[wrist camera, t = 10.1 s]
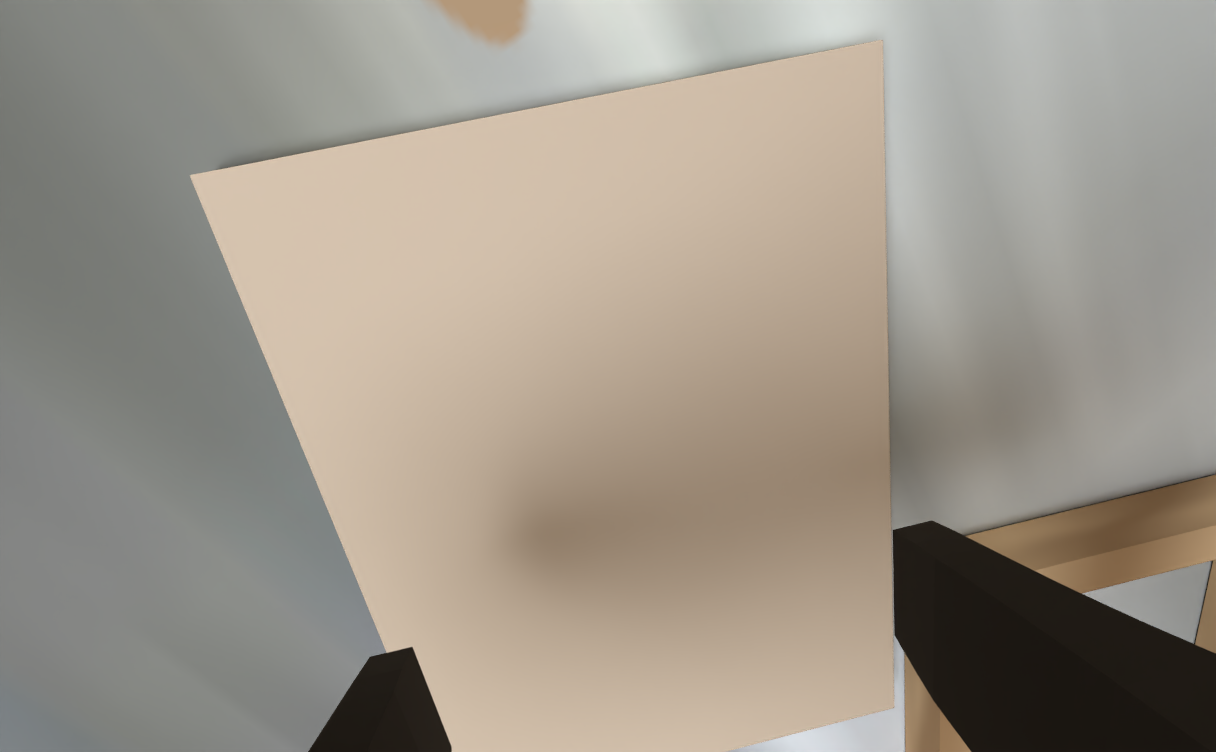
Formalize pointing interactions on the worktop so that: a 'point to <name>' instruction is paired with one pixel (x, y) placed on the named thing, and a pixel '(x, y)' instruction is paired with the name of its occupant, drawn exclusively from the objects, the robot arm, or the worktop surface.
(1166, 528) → the wooden square frame
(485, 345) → the beige mat
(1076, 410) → the worktop surface
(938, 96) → the worktop surface
